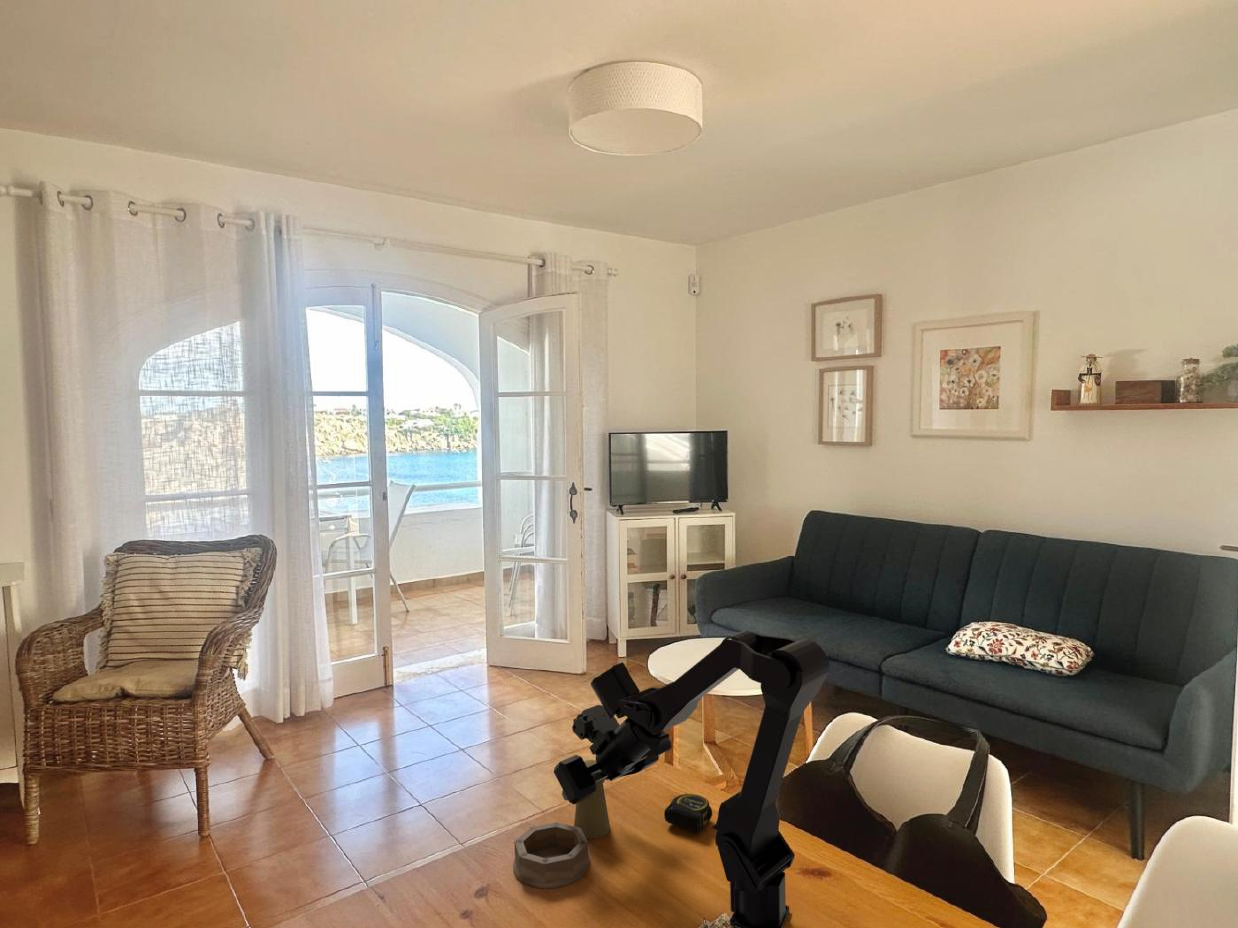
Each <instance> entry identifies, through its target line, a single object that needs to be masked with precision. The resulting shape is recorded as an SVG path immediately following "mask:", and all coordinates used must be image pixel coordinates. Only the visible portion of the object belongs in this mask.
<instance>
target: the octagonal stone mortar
mask: <svg viewBox="0 0 1238 928" xmlns="http://www.w3.org/2000/svg"><path fill="white" fill-rule="evenodd" d="M589 853H590V852H589V842H588V840H587V838H585V836H584V834H583V832H582V830H581V828H578V827H574V825H569V824H565V823H563V822H558V821H557V822H551V823H546V824H540V825H536V826H530V827H528V829H527V830H526V831H525V832H523V833H522V834H521V835H519V837H517V839H515V840H514V860H513V865H512V867H513V874H514V876H515V878H516V879H517V880H518V881H519V882H520V883H522V884H524V885H526V886H528V887H532V888H536V889H542V890H544V889H546V890H549V889H551V890H552V889H558V888H563V887H567V886H569V885H572V884H574V883H576V882H578V881H579V880H581V879H582V878H584V876H585V875H586V874H587V873H588V872H589V869H590V867H591V858H590V857H591V856H590V854H589Z"/></svg>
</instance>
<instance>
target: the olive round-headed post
mask: <svg viewBox="0 0 1238 928" xmlns="http://www.w3.org/2000/svg"><path fill="white" fill-rule="evenodd" d="M583 761H584V762H585V764H586V766H587V768H588V767H590V766H592V765H594V764H596V759H587V760H583ZM600 772H602V771H600ZM600 772H598V773H600ZM598 773H596V774H598ZM596 774H593V775H592V776H594V775H596ZM605 778H606V777H605ZM605 778H603V779H601V780H599V781H597V782H595V783H596V791H595V792H594V793H593V794H592V795H591V796H590V797H588V798H586V799H584V800H582V801H580V802H578V803H576V804H575V812H574V813H575V814H574V822H573V826H574V827H578V828H581V830H582V832H583V834H584V836H585V838H586V839H597V838H601V837H603V836H605V835H607V834H608V833H609V832H610V830H611V824H610V819H609V818H610V817H609V812H608V806H607V799H606V794H605V787H604V783H605V781H606V779H605Z"/></svg>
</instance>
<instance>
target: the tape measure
mask: <svg viewBox="0 0 1238 928" xmlns="http://www.w3.org/2000/svg"><path fill="white" fill-rule="evenodd" d="M663 813H664V814H663V816H664V820H665V821H666V822H667V823H668V824H670V825H674V826H677V827H679V828H683V829H685V830H689V831H692V832H695V833H701V832H703V830H704V828H705V827H707V826H708V825H709V823H710V821H711V819H712V817H713V810H712V807H711V806H710V802H709V800H708V799H707V798H706V797H704V796H702V795H700V794H696V793H695V794H694V793H684V794H680V795H678V796H675V797H674V798H673V799H672V801H670V804H668V806H666V808H665V809H664V811H663Z"/></svg>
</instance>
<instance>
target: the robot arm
mask: <svg viewBox="0 0 1238 928" xmlns="http://www.w3.org/2000/svg"><path fill="white" fill-rule="evenodd" d="M830 665H831V664H830V659H829V658H828V657H827V655H826V652H825V650H823V648H822V647H821V646H820V645H819V644H818V643H816V642H815V641H814V640H810V639H805V638H802V639H799V640H797V639H793V638H789V637H781V636H774V635H765V634H761V633H758V632H754V631H750V630H741V631H739V632H737V633H734V634H731V635H728V636H726V637H725V638H724V639H722V641H721V643H720V644H719V645H718V646H716V647H715V648H714V649H713V650H711V651H710V652H709V653H708V654H707V655H705V656H704V657H703V658H701V659H700V660H699V661H698V662H696V663H695V664H694V665H692V666H691V667H690V668H689V669H687V671H686V672H684V673H683V674H681V676H679V677H678V678H677V679H676V680H674V681H672V682H670V683H668V684H666V685H663V686H661V687H655V686H651V687H648V688H645V689H644V690H641V691H640V689H639V687H638V685H637V684H636V682H635V680H634V679H633V677H632V676H631V674H630V673H629V670H628V668H627V666H626V665H625V663H624V662H619V663H615V664H613V665H612V667H611V668H609V669H607V670H606V671H604V672H603V673H601V674H600V675H597V676H596V677H594V678H593V679H592V680H591V682H590V687H591V688H592V690H593V692H594V693H595V695H596V697H597V698H598V700H599V702H600V703H601V704H596V705H594V706H591V707H588V708H586V709H583V710H582V711H581V713H578V714H577V716H576V717H575V718H573V720H572V721H573V722H572V723H573V724H572V726H571V727H572V728H571V729H572V732H573V733H574V734H575V735H576V736H577V738H578V739H579V740H581V741H583V740H585V739H586V740H588V741H589V742H590V743H591V745H590V746H589V747H588V749H589V750H590V752H591V754H592V755H595V760H596V764H594V765H592V766H590V767H588V768H587V766H586V764H585V762H584V761H585V760H584V759H583V757H582V756H580V755H578V754H573V755H572V756H569V757H568V758H565V759H563V760H561V761H559V762H558V763H557V764H556V765H555V767H553V768H554V769H553V773H554V776H555V778H556V779H557V781H558V783H559V785H560V787H561V789H562V790H561V791H562V793H561V796H562V798H563V800H564V801H568V802H569V803H570V804H572V805H576V803H578V802H580V801H582V800H584V799H586V798H588V797H590V796H591V795H592V794H593V793H594V792H595V791H596V783H595V782H597V781H599V780H601V779H603V778H605V777H606V778H605V781H608V780H609V781H610V782H612V781H614V780H616V779H619V778H622V777H626V776H631V775H636V774H638V773H640V772H642V771H644V770H646V769H648V768H650V767H652V766H654V765H655V764H656V763H657V762H658V761H659V760H660V755H662V754H664V753H666V752H668V751H671V750H672V748H673V747H672V741H671V739H670V734H669V733H667V732H666V731H667V730H669V729H671V728H673V727H675V726H678V725H680V724H682V723H685V722H686V721H687V720H688V719H689V718H690V717H691V715H693V713H694V711H695V710H696V709H697V707H698V706H699V705H698V704H699V702H700V701H701V699H703V697H704V696H706V695H707V694H709V693H710V692H711V691H712V690H714V688H716V687H717V686H719V685H720V684H721V683H723V682H724V681H725V680H727V679H728V678H729V677H731V676H732V675H733V674H735V673H736V672H737V671H739V670H740V671H741V672H742V673H744V675H745V676H747V677H748V679H750V680H751V681H754V682H756V683H759V684H760V691H761V694H762V698H763V701H764V708H763V712H762V716H761V720H760V723H759V726H758V729H757V733H756V735H755V736H756V737H755V741H754V745H753V747H752V750H751V755H750V757H749V762H748V764H747V768H746V772H745V775H744V779H743V782H742V785H741V789H740V791H738V792H737V793H735V794H733V795H732V796H731V797H729V798H727V799H725V800H723V801H722V802H721V803H720V804H719V807H718V811H717V812H718V813H717V819H716V822H715V824H714V825H713V826H712V829H713V830H715V831H716V832H715V834H714V835H715V836H714V842H715V843H714V844H715V846H716V847H717V851H718V853H719V857H720V861H721V864H722V868H723V872H724V876H725V878H726V881H727V882H729V894H730V895H729V898H730V899H729V901H730V904H729V906H730V912H731V913H732V915H731V917H730V919H729V924H730V926H732V925H734V926H733V927H735V926H737V927H736V928H738V927H740V928H783V927H784V926H785V925H784V924H785V922H786V920H787V918H788V916H789V913H790V906H789V905H786V903H787V902H786V872H785V870H787V869H790V868H791V867H792V864H793V862H794V859H795V856H796V854H795V853H794V851H793V850H792V848H791V847H790V845H789V843H788V842H787V841H786V839H785V837H784V836H783V834H782V833H781V832H780V830H779V829H780V822H781V821H780V819H781V818H780V817H781V816H780V813H779V811H778V807H777V799H778V795H779V792H780V790H781V789H780V788H781V785H782V783H783V779H784V776H785V772H786V769H787V765H788V762H789V760H790V759H789V758H790V756H791V753H792V749H793V746H794V743H795V739H796V735H797V733H798V728H799V726H800V723H801V719H802V716H803V714H804V712H805V710H806V709H807V708H808V707H809V705H810V704H811V703H812V701H813V700H814V699H815V697H816V696H817V694H818V693H819V692H820V690H821V689H822V688H821V687H822V686H823V685H824V683H825V681H826V680H827V679H826V678H827V676H828V675H829V673H830V667H831V666H830ZM615 716H616V717H615ZM625 717H626V718H625ZM622 718H625V720H623V721H622V723H619V722H618V719H622ZM600 771H602V772H600ZM598 772H600V773H598ZM596 773H598V774H596ZM593 774H596V775H594V776H592V775H593Z"/></svg>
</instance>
